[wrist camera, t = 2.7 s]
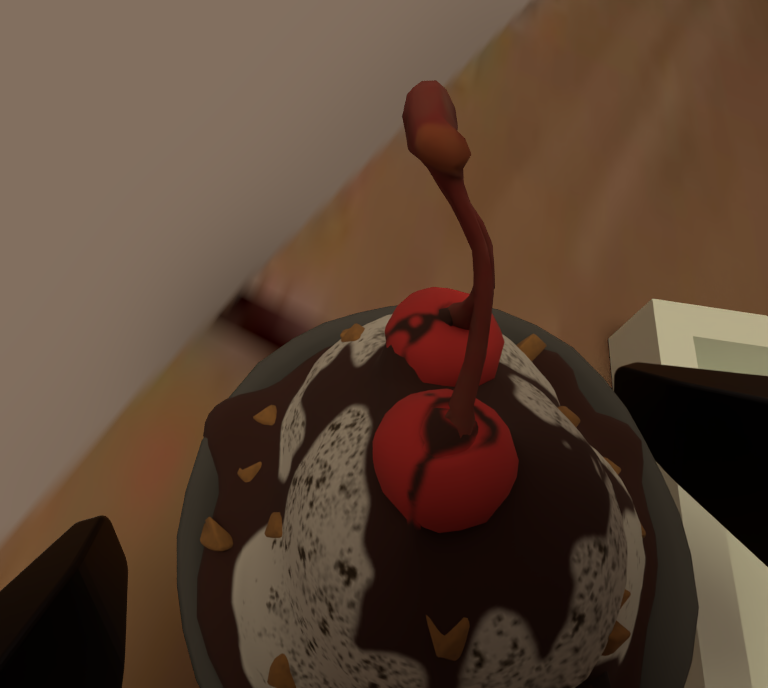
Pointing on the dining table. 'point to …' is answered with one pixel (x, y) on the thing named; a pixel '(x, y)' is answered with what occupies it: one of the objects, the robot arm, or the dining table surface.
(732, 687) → the end cap
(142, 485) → the dining table surface
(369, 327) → the sundae
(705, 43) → the dining table surface
